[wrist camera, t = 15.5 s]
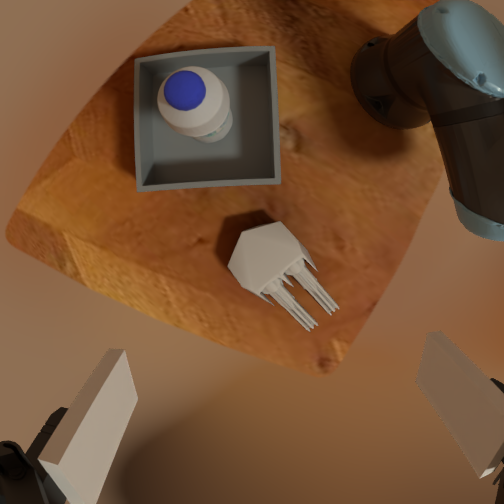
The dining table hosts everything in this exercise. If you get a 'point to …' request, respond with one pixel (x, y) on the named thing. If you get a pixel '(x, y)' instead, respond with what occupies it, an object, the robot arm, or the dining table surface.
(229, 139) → the tray
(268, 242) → the turret
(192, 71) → the bottle
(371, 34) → the dining table surface
